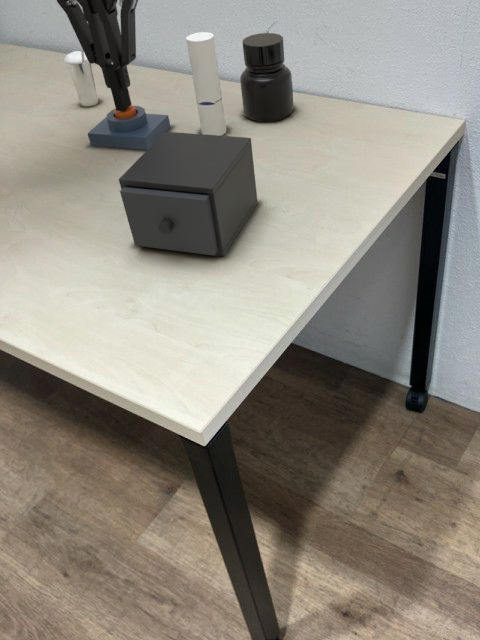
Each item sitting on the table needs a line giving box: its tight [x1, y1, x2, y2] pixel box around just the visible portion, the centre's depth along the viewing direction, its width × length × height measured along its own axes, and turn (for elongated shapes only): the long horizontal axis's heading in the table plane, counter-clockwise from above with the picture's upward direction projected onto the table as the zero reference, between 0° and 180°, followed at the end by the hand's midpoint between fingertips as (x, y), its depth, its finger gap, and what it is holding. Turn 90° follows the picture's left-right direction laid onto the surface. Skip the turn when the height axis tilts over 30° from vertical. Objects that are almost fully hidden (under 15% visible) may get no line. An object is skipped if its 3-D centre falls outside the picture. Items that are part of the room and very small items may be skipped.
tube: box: [185, 31, 227, 136], centre depth 100 cm, size 4×4×15 cm
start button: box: [113, 104, 137, 119], centre depth 103 cm, size 4×4×2 cm
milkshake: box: [64, 50, 99, 107], centre depth 114 cm, size 5×5×10 cm
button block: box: [87, 105, 171, 151], centre depth 105 cm, size 11×9×4 cm
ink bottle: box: [239, 32, 294, 122], centre depth 105 cm, size 10×9×12 cm
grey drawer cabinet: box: [118, 131, 259, 257], centre depth 81 cm, size 14×13×10 cm
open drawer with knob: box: [119, 187, 218, 257], centre depth 79 cm, size 14×11×8 cm
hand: (123, 107), depth 102 cm, fingers closed
